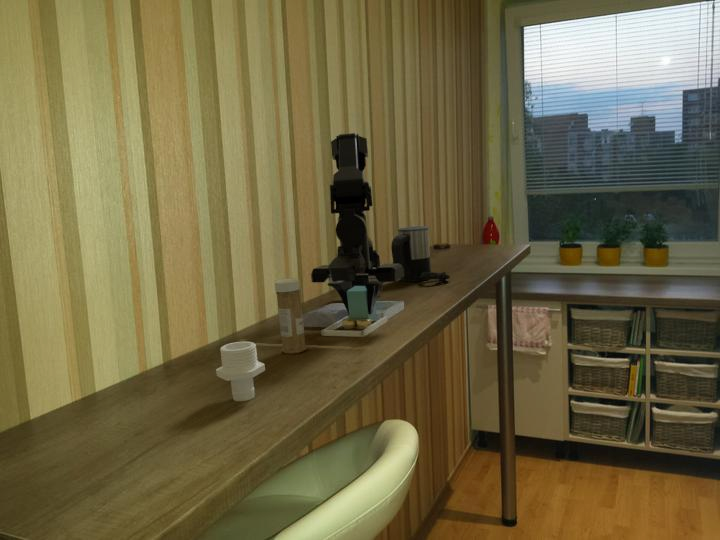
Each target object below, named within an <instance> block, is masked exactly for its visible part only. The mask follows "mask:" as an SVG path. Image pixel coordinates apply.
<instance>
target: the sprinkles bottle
mask: <svg viewBox="0 0 720 540" xmlns="http://www.w3.org/2000/svg"><path fill="white" fill-rule="evenodd" d="M300 283H301V282H300V279H298V278H294V277H293V278H282V279H278V280H275V281H274V290H275V293H276V300H277V311H278V314H277V315H278V321H279V331H280V336H281V343H282V352H283V353H284V354H289V355H291V354H292V355H293V354H300V353H302V352H305V351H306V349H307V345H306V341H305V339H306V338H305V327H304V325H303V317H302V314H303V308H302V303H301V301H302V300H301V293H300V291H301V284H300Z"/></svg>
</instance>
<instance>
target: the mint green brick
mask: <svg viewBox="0 0 720 540" xmlns="http://www.w3.org/2000/svg"><path fill="white" fill-rule="evenodd" d="M347 299H348V307H349V316H350V318H357V319H360V318H371V323H372V322H374V321H373V320H375V319H376V318H377V317H376V308H375V306H374V309H373V313H372V314H371V315H369V313H368V305H367V289H366V287H365V286H354V287H353V288H351V289H349V290H348V291H347Z"/></svg>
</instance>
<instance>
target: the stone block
mask: <svg viewBox="0 0 720 540" xmlns="http://www.w3.org/2000/svg"><path fill="white" fill-rule="evenodd" d="M346 316H349V314H348V312H347V309H346V307H345V305H344V303H342V302H340V303H338V302H335V303H329V304H326V305H320V306H317V307H315V308H314V309H311V310H309V311H308V312H306V313H302V317H303V325H304V328H327V327H329V326H330V325H332V324H334V323H336V322H338V321H339V320H341V319H343V318H345V317H346Z"/></svg>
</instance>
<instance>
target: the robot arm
mask: <svg viewBox="0 0 720 540" xmlns="http://www.w3.org/2000/svg"><path fill="white" fill-rule="evenodd" d="M359 135H360V134H359V133H357V132H356V133H355V132H352V133H350V132H349V133H342V134H341V133H340V134H339V135H336V136H335V138H334V139H333V140H331V141H330V148H331V151H330V152H331V158H332V160H333V161H335V164H336V169H337V170H338V171H336V172H335V173H334V174H333V175H332V184H330V185H329V197H330V214H331V215H333V214H334V215H335V214H338V217H337V223H336V225H335V235H336V237H337V239H338V240H339V245H338V246H337V253H336V257H334V258H333V260H332V261H331V262H330V263H329V264H322V265H320V266H317V267H315V268H313V269H312V270H311V273H310V279H311V283H325V282H326V281H327V280H328V283H327V286H328V287H332V288H333V289H334V290H335V291H336V292H337V293H338V295H339V296H340V298H341V302H343V303H342V304H344V305H345V307H346V309H347V312H348V314H349V307H348V299H347V291H348V290H349V289H351V288H353V287H354V286H365V287H366V289H367V305H368V313H369V315H371V314H372V313H373V309H374V306H375V303H376V301H378V300H377V299H378V297H379V296H380V291H381V289H382V287H383V284H385V283H391V282H392V283H394V282H396V281H398V280H400V278H402V277H404V269H403V267H402V265H401V264H393V263H384V264H381V261H380V255H379V254H378V252H377V250H376V249H374V243H373V241H372V239H371V237H369V235H368V226H367V225H368V223H367V216H366V214H365V212H368V211H370V209H371V207H373V197H372V187H371V185H370V184H369V182H368V181H365V176H364V174H365V173H364V170H365V168H366V164H367V163H366V162H367V161H366V160H367V159H366V158H369V151H368V150H369V149H368V139H367V138H366V137H364V136H359Z"/></svg>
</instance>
